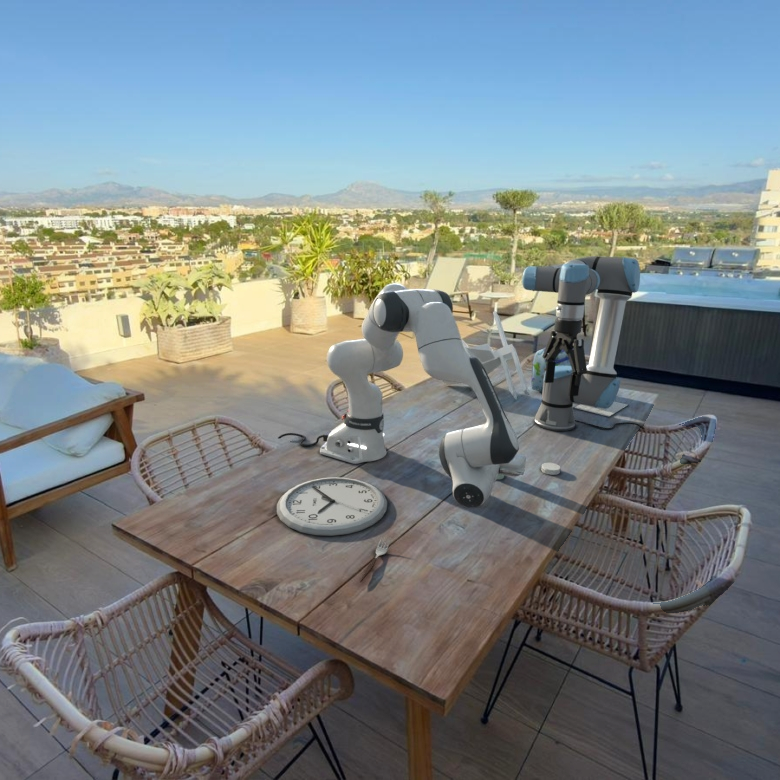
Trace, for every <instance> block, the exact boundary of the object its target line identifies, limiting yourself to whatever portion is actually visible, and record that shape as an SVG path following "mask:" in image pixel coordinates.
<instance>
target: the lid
mask: <svg viewBox="0 0 780 780" xmlns="http://www.w3.org/2000/svg"><path fill="white" fill-rule="evenodd" d="M540 469H541V472H542V473H543V474H546V475H550V476H555V475H556V476H557V475H559V474H560V473H561V466H560V465H558V464H557V463H554V462H543V463H542V464H541V468H540Z"/></svg>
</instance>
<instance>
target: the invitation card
mask: <svg viewBox="0 0 780 780" xmlns="http://www.w3.org/2000/svg"><path fill="white" fill-rule="evenodd" d="M628 406H629V404H627V403H623V402H618V401H614V402H613V404H612V405H611V406H610V407H609V408H607V409H604V408H598V407H597V408H595V407H593V406H588V405H583V404H578V405H575V406H574V407H573V409H575V410H581V411H584V412H587V413H593V414H596V415H600V416H604V417H608V418H609V417H611V416H613V415H614V414H616V413H617V412H619V411H621V410H623V409H624V408H626V407H628Z"/></svg>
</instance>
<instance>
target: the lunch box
mask: <svg viewBox="0 0 780 780" xmlns="http://www.w3.org/2000/svg"><path fill="white" fill-rule="evenodd" d="M545 349H546V346H545V347H544V348H542V349H541V348H540V349H539V350H537V351H536V352H535V353H534V356H533V360H532V367H531V368H532V369H531V382H530V383H531V386H530V387H531V389H532V390H533V391H537V392H542V391H543V382H544V380H543V379H544V375H545V371H546V360H545V358H543V353H544V351H545ZM572 350H574V349H572ZM547 354H549V353H547ZM553 362H556V364H555V366H571V364H570V361H569V357H568V354H566V353H565V351H563V350H561V352H560V353H559V355H558V356H557V357H556V361H553Z"/></svg>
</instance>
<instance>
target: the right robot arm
mask: <svg viewBox="0 0 780 780" xmlns="http://www.w3.org/2000/svg"><path fill="white" fill-rule="evenodd" d="M640 267H641V266H640V263H639V261H638V259H636V258H632V257H626V256H598V255H597V256H595V255H592V256H583V257H579V258H574V259H569V260H568V261H566V262H565V263H559V264H554V265H553V264H552V265H546V266H537V265H535V266H534V265H531V266H529V265H528V266H527V267H526V268H525V269H524V270H523V273H522V277H521V284H522V287H523V289H524V290H525V291H532V292H542V293H543V292H545V293H557V302H556V304H557V305H556V308H555V310H556V311H555V317H556V318H555V319H554V327H553V330H551V332H550V334H549V335H550V336H549V339H548V341H547V344H546V345H545V347H546V349H545V351H544V353H543V358H545V360H546V371H545V375H544V379H543V380H544V382H543V391H541V393H542V394H541V402H540V405H539V407H538V410H537V411H536V413H535V416H534V424H535V425H536V426H537V427H539V428H542V429H544V430H549V431H556V432H567V431H572V430H574V429H575V428H576V423H577V424H582V425H585V426H590V427H593V428H597V429H600V430H606V431H607V430H610V431H611V430H613V429H615V428H616V426H620V425H633V426H637V427H639V428H640V429H641V430H645V427H644V426H642V425H641V424H639V423H636V422H633V421H632V422H630V421H629V422H628V421H625V422H623V421H622V422H615V423H614V424H613V425H612V426H611V427H604V426H600V425H596V424H593V423H588V422H585V421H583V420H582V421H581V420H578V419H576V418H575V417H576V416H575V413H574V407H573V405H574V404H578V405H580V404H583V405H588V406H593V407H595V408H597V407H598V408H604V409H607V408H609V407H610V406H611V405H612V404H613V402H615V400H616V398H617V396H618V394H619V390H620V385H621V380H620V378H618V377H617V375H618V373H617V371H616V370H615V368H614V366H615V362H616V356H617V350H618V346H619V340H620V335H621V330H622V324H623V321H624V320H623V319H624V315H625V309H626V304H627V302H628V301H629V300H630V299H632V297H633V294H635V293H637V292H638V291H639V288H640V283H641V268H640ZM596 290H597V292H596V295H597V296H598V298H599V305H598V311H597V316H596V321H595V322H596V323H595V327H594V332H593V336H592V337H593V338H592V342H591V348H590V354H589V359H588V364H587V361H586V355H585V347H584V346H585V339H584V338H579V339H578V334H581V333H582V330H583V329H582V328H583V320H582V319H584V314H585V305H586V296H587V295H590V294H593V293H594V292H595V291H596ZM572 349H574V350H572ZM561 350H563V351H565V353H566V354H568V357H569V361H570V364H571V366H555V364H556V362H553V361H556V357H557V356H558V355H559V353H560V352H561ZM547 353H549V354H547Z"/></svg>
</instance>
